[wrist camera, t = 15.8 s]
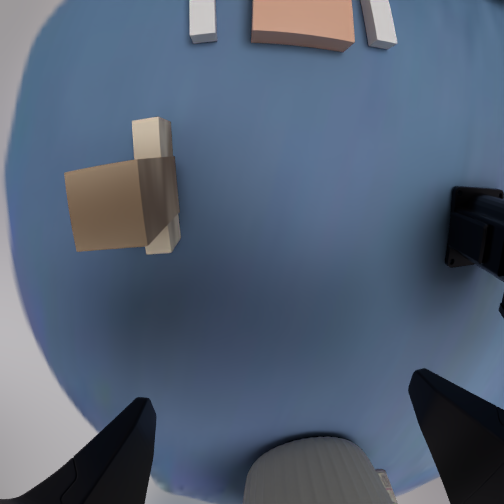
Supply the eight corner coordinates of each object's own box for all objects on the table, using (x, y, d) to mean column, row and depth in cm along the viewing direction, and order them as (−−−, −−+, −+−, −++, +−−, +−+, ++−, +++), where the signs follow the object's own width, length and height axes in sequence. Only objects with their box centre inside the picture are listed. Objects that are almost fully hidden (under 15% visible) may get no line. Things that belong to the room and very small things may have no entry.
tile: (337, -13, 14) (347, -29, 12) (341, 53, 16) (354, 42, 13) (252, -23, 14) (254, -41, 11) (250, 44, 16) (252, 30, 13)
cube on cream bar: (137, 127, 17) (60, 113, 8) (182, 120, 17) (133, 94, 8) (148, 240, 19) (90, 304, 11) (192, 237, 19) (158, 304, 11)
